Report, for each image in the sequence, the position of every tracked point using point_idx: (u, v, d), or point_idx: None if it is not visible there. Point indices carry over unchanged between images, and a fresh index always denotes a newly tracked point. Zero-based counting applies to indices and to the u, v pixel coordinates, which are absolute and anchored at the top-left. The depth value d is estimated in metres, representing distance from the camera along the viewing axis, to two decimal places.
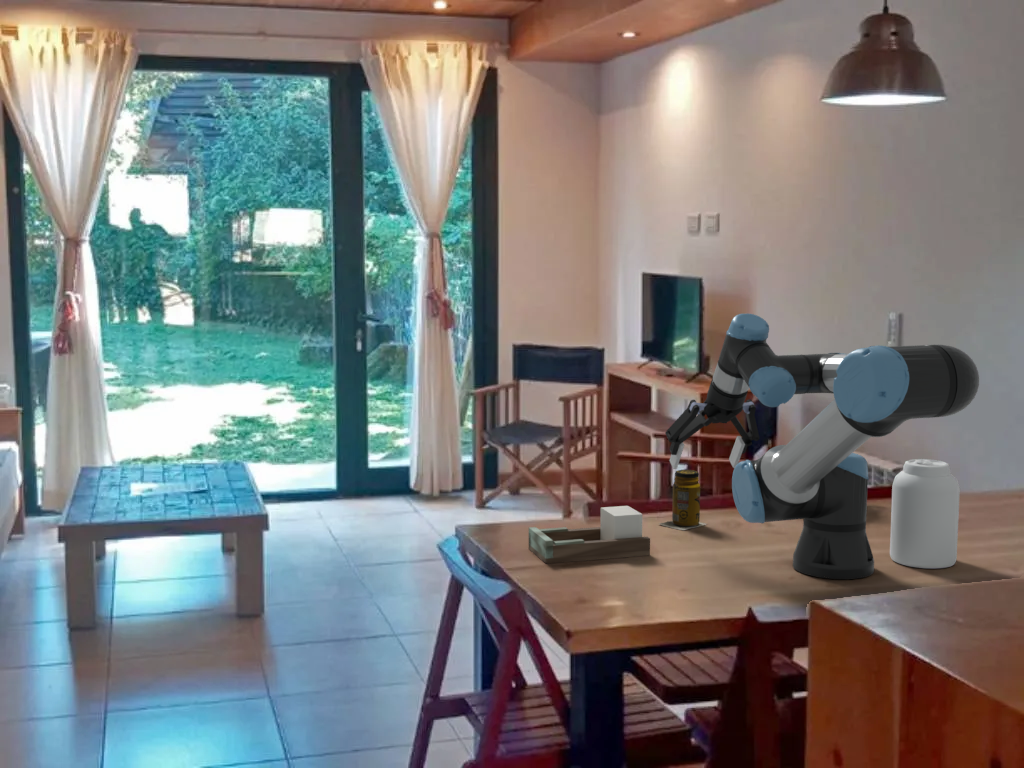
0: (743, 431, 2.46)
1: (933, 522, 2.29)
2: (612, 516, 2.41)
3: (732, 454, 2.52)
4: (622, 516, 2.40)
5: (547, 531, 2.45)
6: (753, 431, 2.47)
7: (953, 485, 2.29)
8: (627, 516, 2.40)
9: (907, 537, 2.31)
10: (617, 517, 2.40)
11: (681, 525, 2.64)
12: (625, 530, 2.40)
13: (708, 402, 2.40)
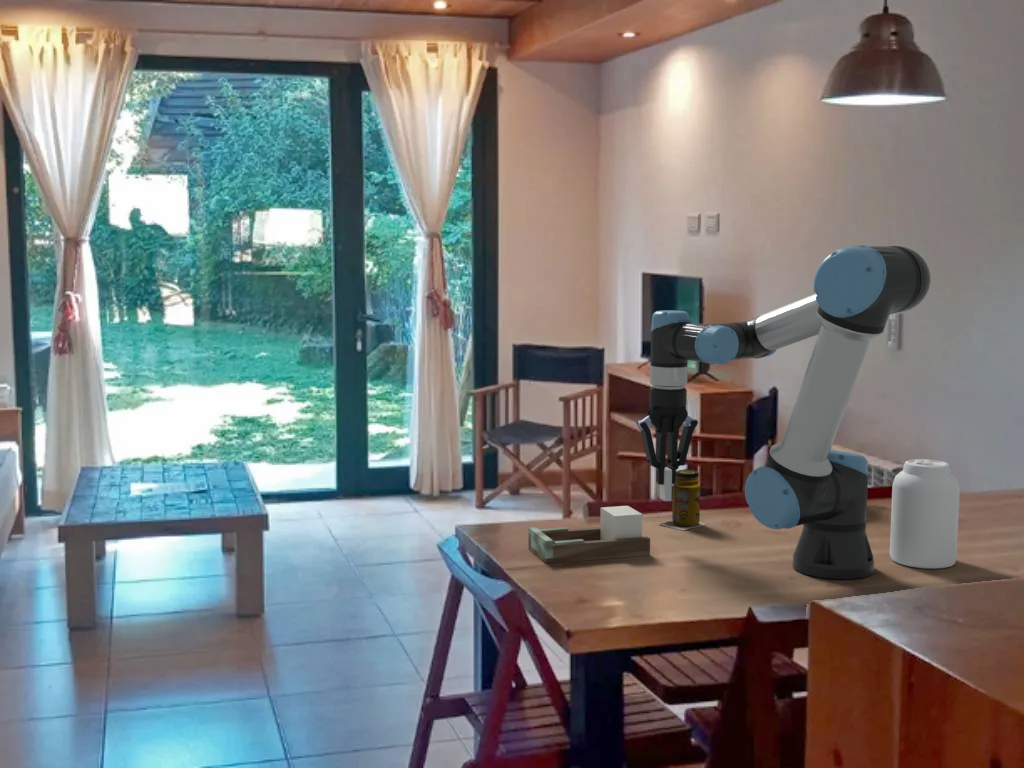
0: (676, 450, 2.45)
1: (933, 522, 2.29)
2: (612, 516, 2.41)
3: None
4: (622, 516, 2.40)
5: (547, 531, 2.45)
6: (683, 451, 2.45)
7: (953, 485, 2.29)
8: (627, 516, 2.40)
9: (907, 537, 2.31)
10: (617, 517, 2.40)
11: (681, 525, 2.64)
12: (625, 530, 2.40)
13: (651, 408, 2.43)
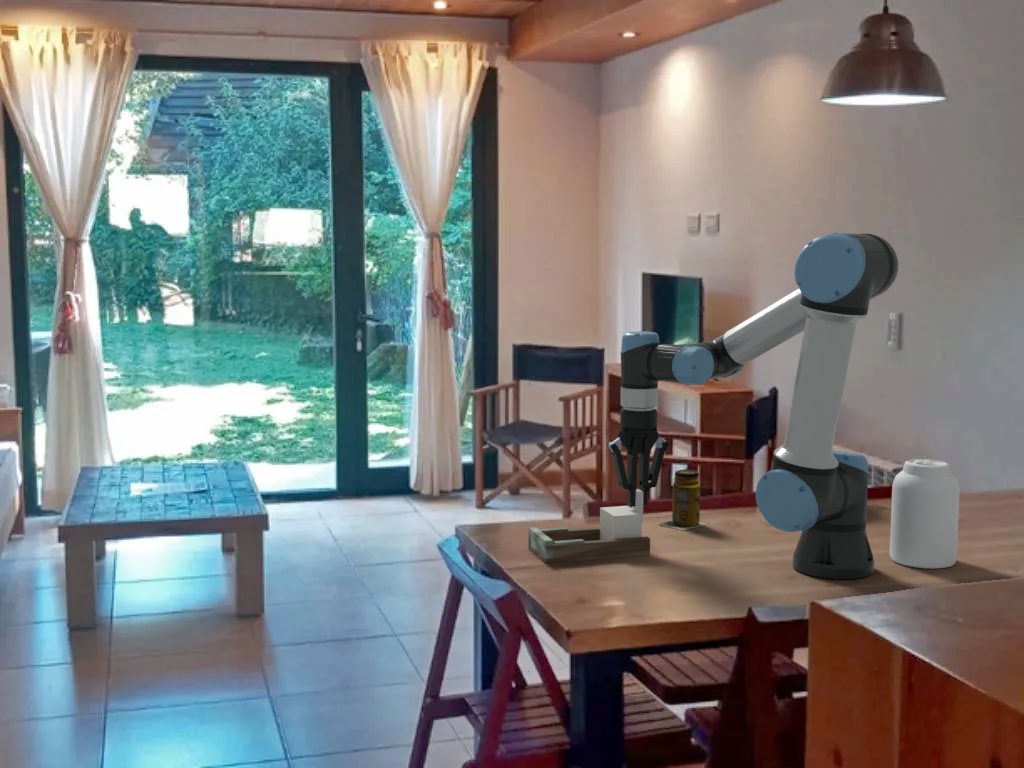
0: (647, 472, 2.44)
1: (933, 522, 2.29)
2: (611, 516, 2.40)
3: None
4: (621, 516, 2.40)
5: (547, 531, 2.45)
6: (655, 472, 2.44)
7: (953, 485, 2.29)
8: (626, 516, 2.40)
9: (907, 537, 2.31)
10: (616, 517, 2.40)
11: (681, 525, 2.64)
12: (624, 530, 2.40)
13: (622, 429, 2.42)
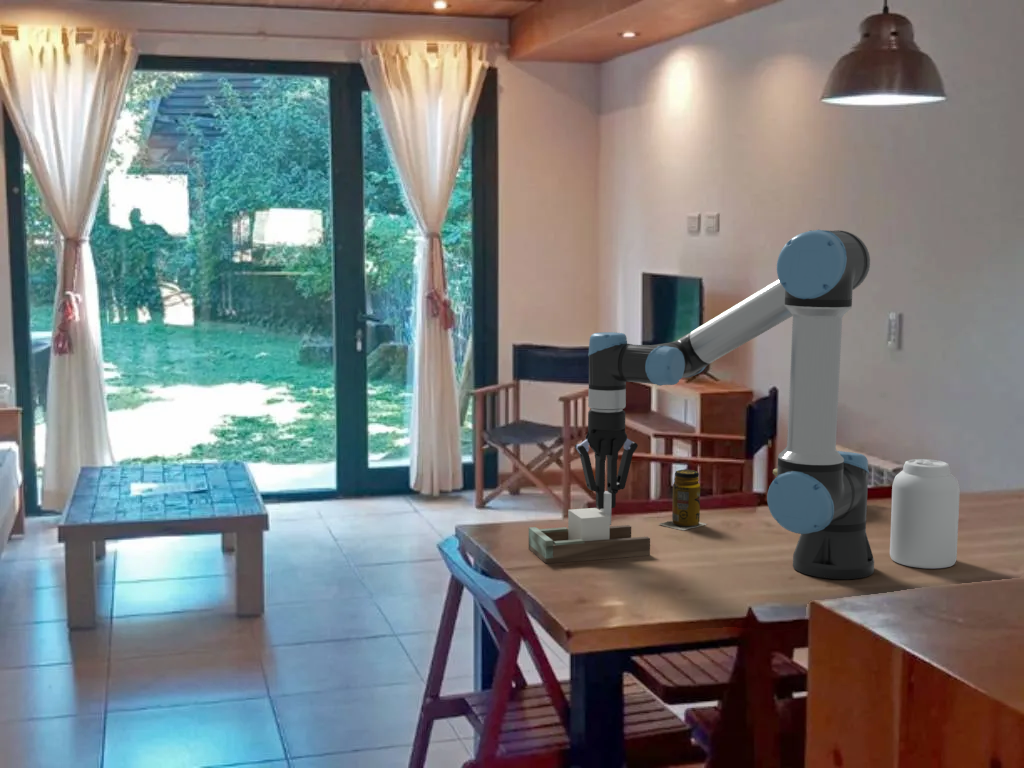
0: (615, 474, 2.42)
1: (933, 522, 2.29)
2: (579, 518, 2.39)
3: None
4: (589, 518, 2.38)
5: (547, 531, 2.45)
6: (623, 474, 2.42)
7: (953, 485, 2.29)
8: (594, 518, 2.38)
9: (907, 537, 2.31)
10: (584, 519, 2.38)
11: (681, 525, 2.64)
12: (592, 532, 2.38)
13: (590, 431, 2.40)
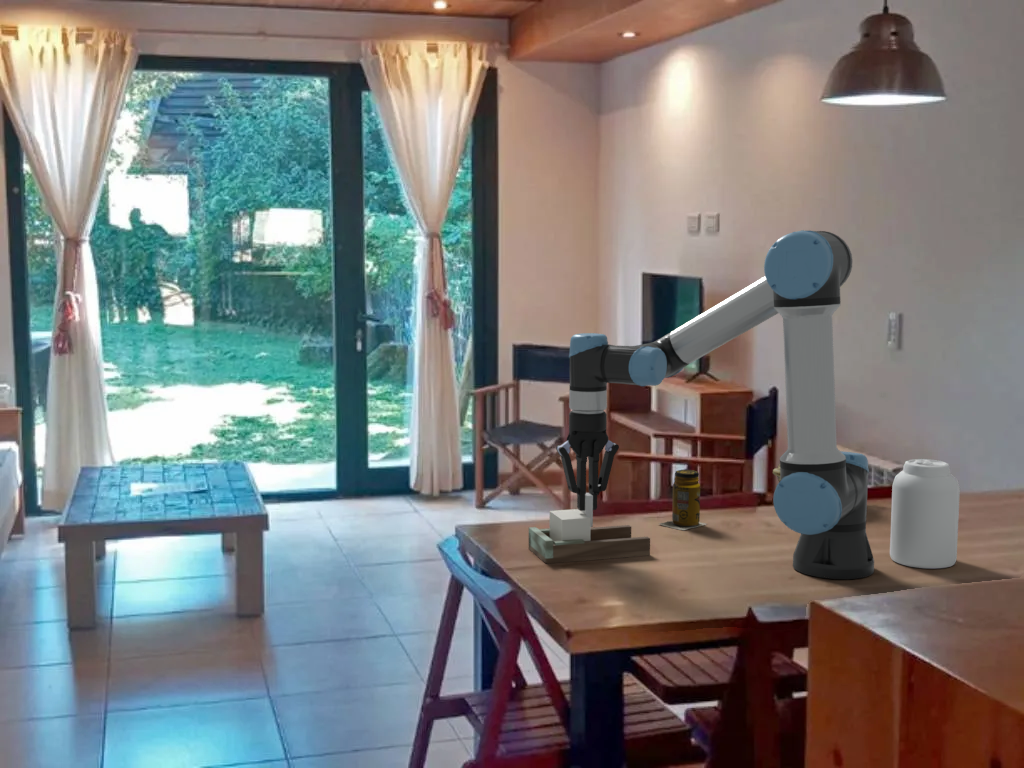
0: (596, 475, 2.40)
1: (933, 522, 2.29)
2: (560, 520, 2.37)
3: None
4: (570, 520, 2.37)
5: (547, 531, 2.45)
6: (604, 476, 2.41)
7: (953, 485, 2.29)
8: (575, 520, 2.37)
9: (907, 537, 2.31)
10: (565, 521, 2.37)
11: (681, 525, 2.64)
12: (573, 533, 2.37)
13: (571, 432, 2.39)
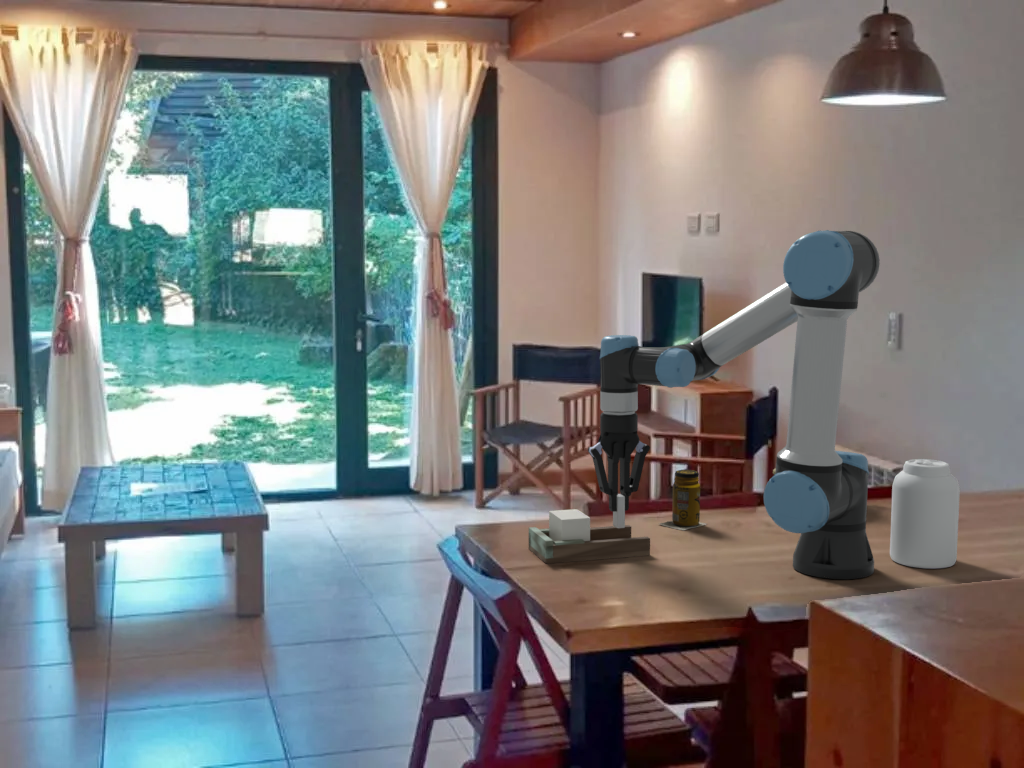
0: (628, 476, 2.42)
1: (933, 522, 2.29)
2: (559, 520, 2.37)
3: None
4: (569, 520, 2.37)
5: (547, 531, 2.45)
6: (636, 477, 2.42)
7: (953, 485, 2.29)
8: (574, 520, 2.37)
9: (907, 537, 2.31)
10: (564, 521, 2.37)
11: (681, 525, 2.64)
12: (572, 533, 2.37)
13: (602, 434, 2.40)
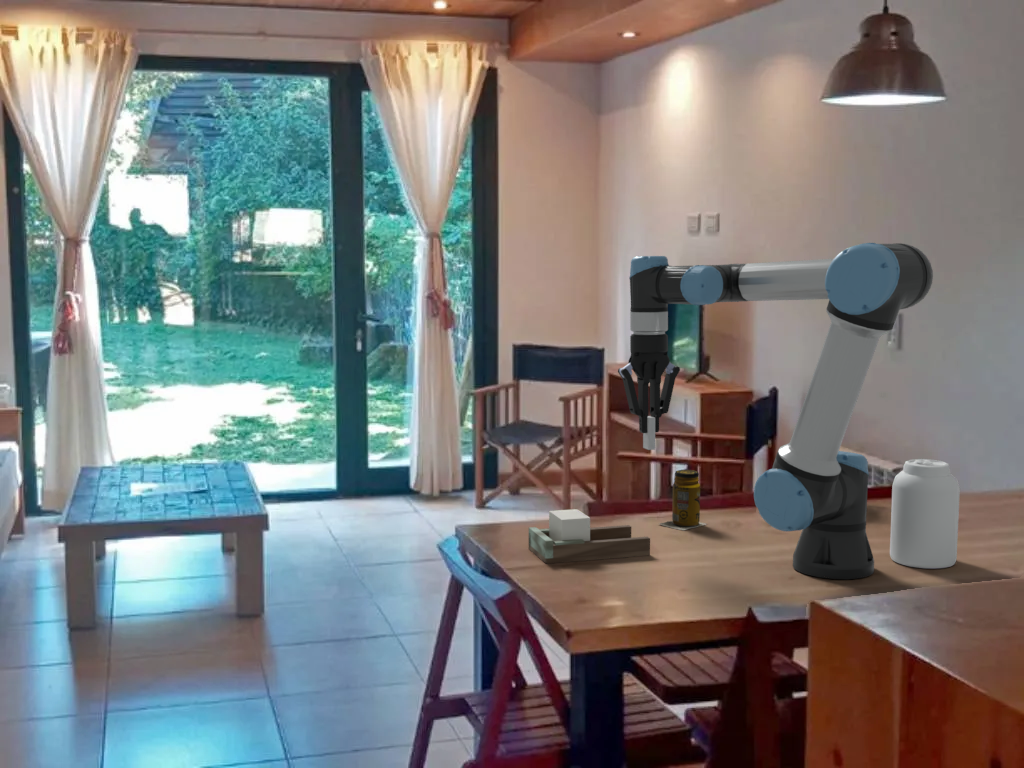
0: (658, 398, 2.41)
1: (933, 522, 2.29)
2: (559, 520, 2.37)
3: None
4: (569, 520, 2.37)
5: (547, 531, 2.45)
6: (666, 398, 2.42)
7: (953, 485, 2.29)
8: (574, 520, 2.37)
9: (907, 537, 2.31)
10: (564, 521, 2.37)
11: (681, 525, 2.64)
12: (572, 533, 2.37)
13: (633, 354, 2.39)
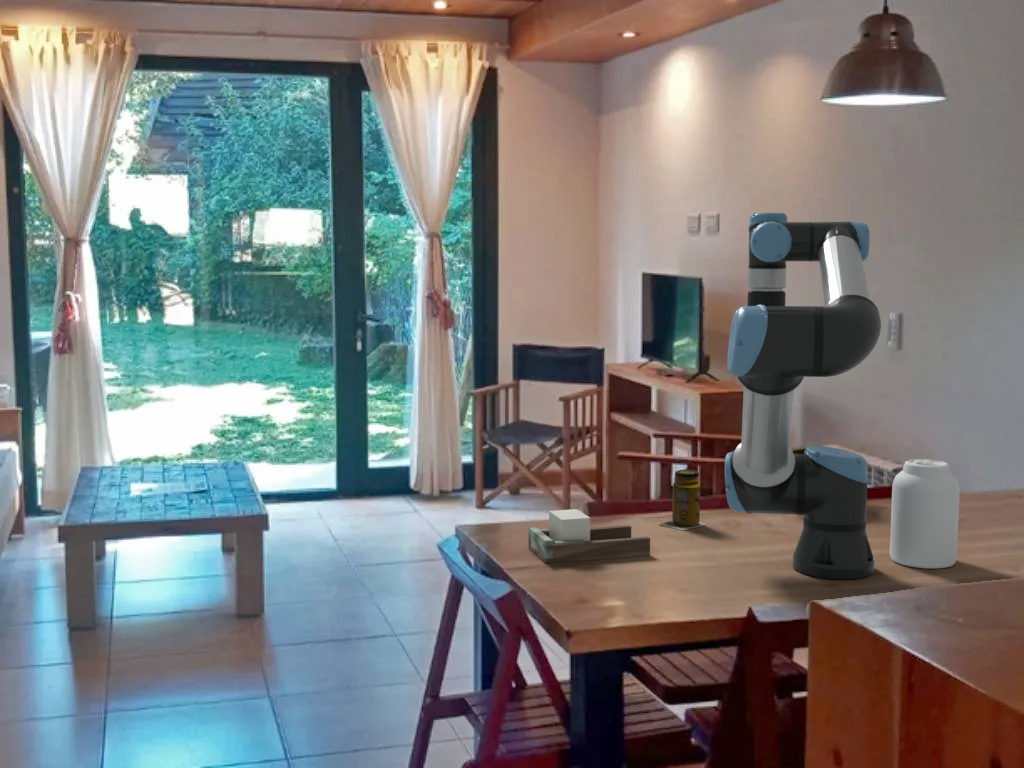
0: None
1: (933, 522, 2.29)
2: (559, 520, 2.37)
3: None
4: (569, 520, 2.37)
5: (547, 531, 2.45)
6: None
7: (952, 485, 2.29)
8: (574, 520, 2.37)
9: (907, 537, 2.31)
10: (564, 521, 2.37)
11: (681, 525, 2.64)
12: (572, 533, 2.37)
13: None
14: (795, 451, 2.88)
